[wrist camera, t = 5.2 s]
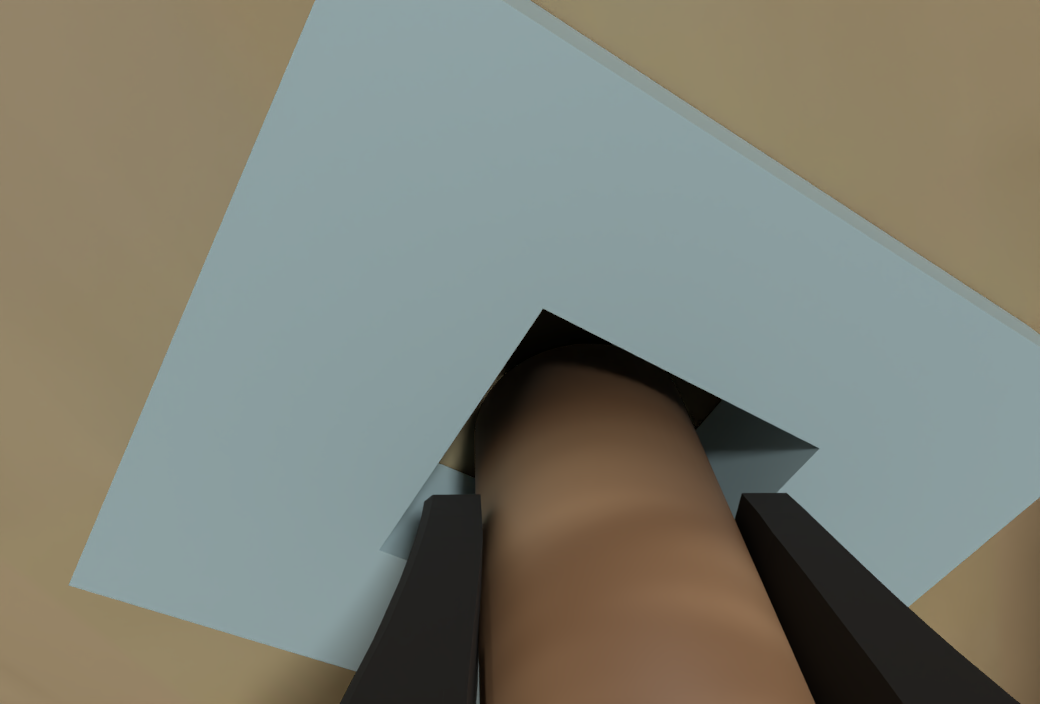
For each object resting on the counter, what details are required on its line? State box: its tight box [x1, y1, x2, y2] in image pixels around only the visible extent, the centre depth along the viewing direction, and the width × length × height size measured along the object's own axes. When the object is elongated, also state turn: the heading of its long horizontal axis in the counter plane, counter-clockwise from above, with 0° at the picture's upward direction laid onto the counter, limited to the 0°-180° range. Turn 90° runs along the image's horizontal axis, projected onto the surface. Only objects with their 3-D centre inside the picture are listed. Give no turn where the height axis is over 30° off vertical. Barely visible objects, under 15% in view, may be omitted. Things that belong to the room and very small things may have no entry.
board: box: [69, 0, 1040, 704], centre depth 12 cm, size 12×10×2 cm
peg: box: [474, 344, 815, 704], centre depth 9 cm, size 3×3×7 cm
